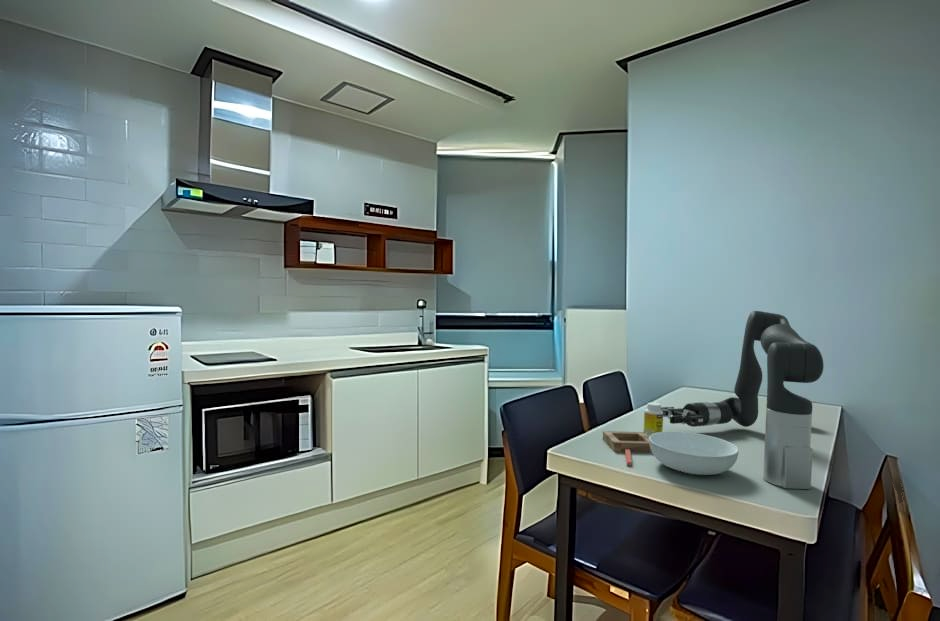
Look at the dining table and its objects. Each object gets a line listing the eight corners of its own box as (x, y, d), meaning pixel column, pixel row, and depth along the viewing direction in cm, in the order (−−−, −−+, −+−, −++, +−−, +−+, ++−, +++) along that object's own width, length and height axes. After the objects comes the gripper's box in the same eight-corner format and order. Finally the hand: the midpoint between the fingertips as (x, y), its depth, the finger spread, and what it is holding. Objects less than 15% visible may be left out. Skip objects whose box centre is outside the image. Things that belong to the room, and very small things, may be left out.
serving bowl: (646, 475, 124) (647, 447, 124) (649, 452, 143) (650, 427, 143) (742, 490, 116) (744, 460, 116) (732, 462, 136) (733, 437, 135)
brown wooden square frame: (656, 452, 143) (657, 443, 143) (613, 451, 143) (614, 442, 142) (642, 440, 155) (642, 432, 155) (602, 439, 155) (603, 431, 154)
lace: (631, 466, 130) (631, 462, 130) (626, 465, 130) (626, 461, 130) (629, 452, 142) (629, 449, 142) (625, 452, 142) (625, 448, 142)
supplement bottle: (657, 439, 156) (658, 406, 155) (640, 435, 160) (641, 403, 159) (665, 436, 160) (666, 404, 159) (648, 432, 164) (649, 401, 163)
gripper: (686, 398, 172) (646, 400, 167) (719, 407, 159) (677, 409, 154) (685, 420, 173) (645, 423, 167) (718, 431, 159) (676, 434, 154)
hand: (661, 416), depth 160 cm, fingers open, 8 cm apart
